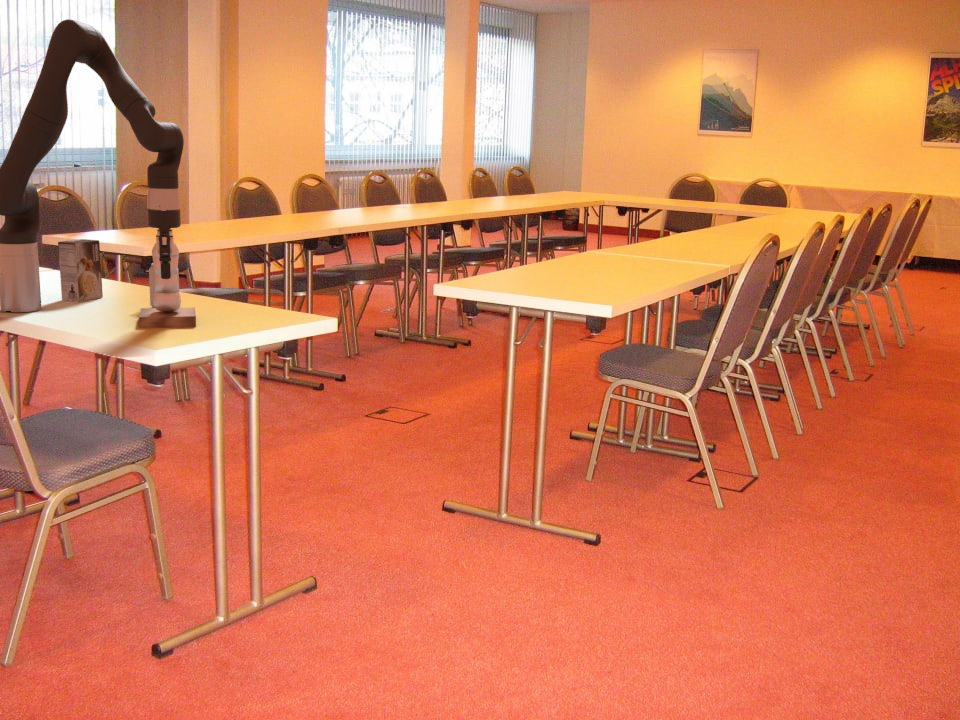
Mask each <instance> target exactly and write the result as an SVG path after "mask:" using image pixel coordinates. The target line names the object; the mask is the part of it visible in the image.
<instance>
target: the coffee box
mask: <svg viewBox="0 0 960 720" xmlns="http://www.w3.org/2000/svg"><path fill="white" fill-rule="evenodd" d="M57 246H58V249H57V250H58V260H59V261H58V263H59V275H60V277H59V278H60V290H61V293H60V294H61V301H66V300H69V302H75V301H76V302H78V303H81V302H85V301H91V300H95V299H100V298H103V297H104V296H103V294H104V293H103V282H102V281H103V279H102V267H101V265H102V262H101V250H100V249H101V247H100V240H99V239H98V240H95V239H85V238H84V239H81V238H80V239H72V240H64V241H63V240H61V241H57Z"/></svg>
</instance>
